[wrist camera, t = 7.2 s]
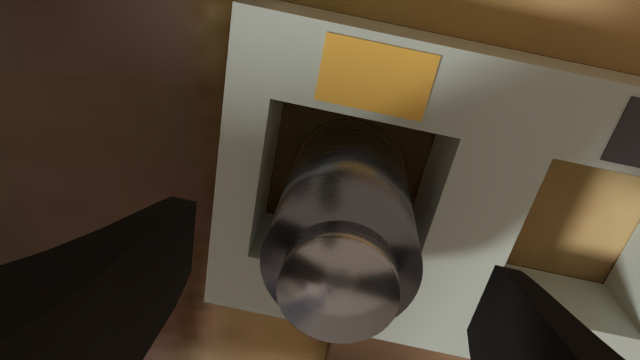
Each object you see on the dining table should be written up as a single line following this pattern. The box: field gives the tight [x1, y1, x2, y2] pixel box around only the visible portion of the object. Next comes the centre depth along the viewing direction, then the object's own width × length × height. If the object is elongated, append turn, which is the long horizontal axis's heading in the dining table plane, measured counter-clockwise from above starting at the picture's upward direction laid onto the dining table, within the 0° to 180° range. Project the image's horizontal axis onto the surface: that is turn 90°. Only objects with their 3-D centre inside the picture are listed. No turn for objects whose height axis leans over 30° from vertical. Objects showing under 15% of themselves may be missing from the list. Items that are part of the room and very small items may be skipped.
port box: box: [204, 0, 640, 360], centre depth 15 cm, size 10×16×3 cm, turn 79°
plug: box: [260, 119, 423, 344], centre depth 13 cm, size 4×4×7 cm
